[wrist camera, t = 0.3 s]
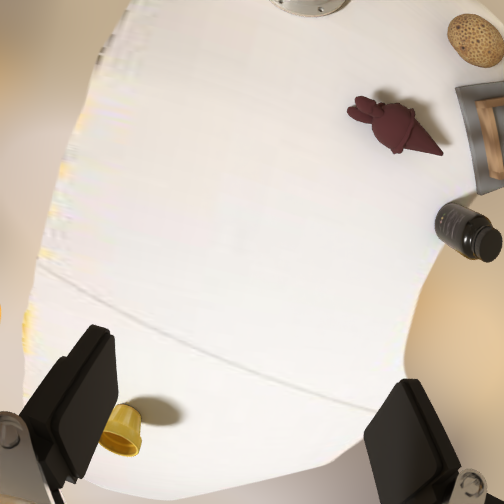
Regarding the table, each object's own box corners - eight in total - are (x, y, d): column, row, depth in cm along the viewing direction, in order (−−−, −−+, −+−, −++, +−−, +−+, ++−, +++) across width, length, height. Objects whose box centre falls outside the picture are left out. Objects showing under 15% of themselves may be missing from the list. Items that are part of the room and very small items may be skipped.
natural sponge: (437, 62, 35) (473, 51, 26) (433, 14, 32) (466, -3, 22) (479, 77, 35) (517, 72, 25) (475, 32, 32) (510, 20, 22)
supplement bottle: (469, 210, 43) (513, 233, 32) (454, 246, 45) (494, 276, 34) (442, 195, 42) (487, 214, 31) (426, 233, 45) (466, 262, 34)
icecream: (460, 127, 33) (366, 71, 32) (450, 174, 33) (350, 119, 33) (436, 137, 40) (351, 91, 39) (425, 179, 40) (336, 134, 40)
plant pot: (143, 431, 64) (133, 462, 55) (105, 414, 63) (91, 443, 53) (154, 411, 61) (143, 445, 52) (111, 392, 59) (96, 423, 50)
